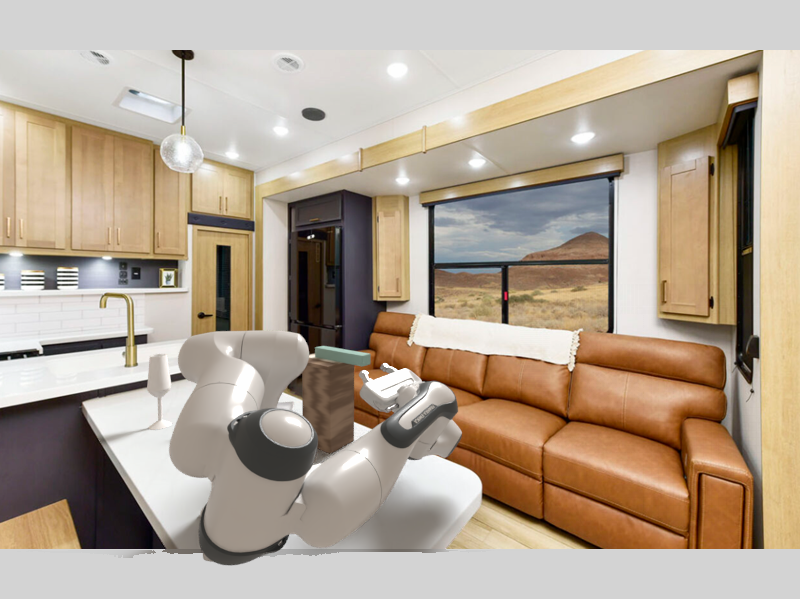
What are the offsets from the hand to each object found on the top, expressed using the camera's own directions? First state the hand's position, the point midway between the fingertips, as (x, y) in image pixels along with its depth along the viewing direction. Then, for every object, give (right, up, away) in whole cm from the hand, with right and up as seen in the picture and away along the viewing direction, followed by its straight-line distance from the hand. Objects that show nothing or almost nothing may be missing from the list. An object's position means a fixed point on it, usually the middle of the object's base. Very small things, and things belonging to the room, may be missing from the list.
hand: (372, 368), depth 97 cm
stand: (-15, -25, +11) cm, 31 cm away
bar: (-9, +1, +6) cm, 11 cm away
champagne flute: (-73, -23, +20) cm, 80 cm away
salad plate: (-41, -24, +25) cm, 54 cm away
